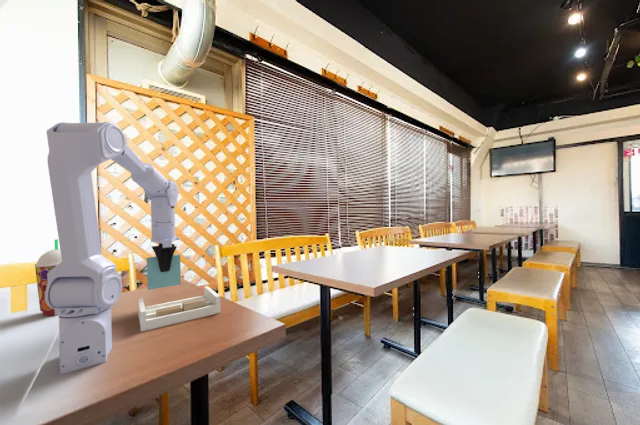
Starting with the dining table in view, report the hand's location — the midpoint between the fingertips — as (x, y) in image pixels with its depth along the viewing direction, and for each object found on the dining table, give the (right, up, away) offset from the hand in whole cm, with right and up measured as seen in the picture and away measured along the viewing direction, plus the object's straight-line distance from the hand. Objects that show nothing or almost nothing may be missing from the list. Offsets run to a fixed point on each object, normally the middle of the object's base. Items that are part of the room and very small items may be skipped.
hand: (164, 270), depth 75 cm
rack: (+8, -10, -7) cm, 15 cm away
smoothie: (-29, -11, -1) cm, 31 cm away
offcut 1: (+8, -10, -11) cm, 17 cm away
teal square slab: (0, -4, 0) cm, 4 cm away
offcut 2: (+12, -9, -8) cm, 17 cm away
